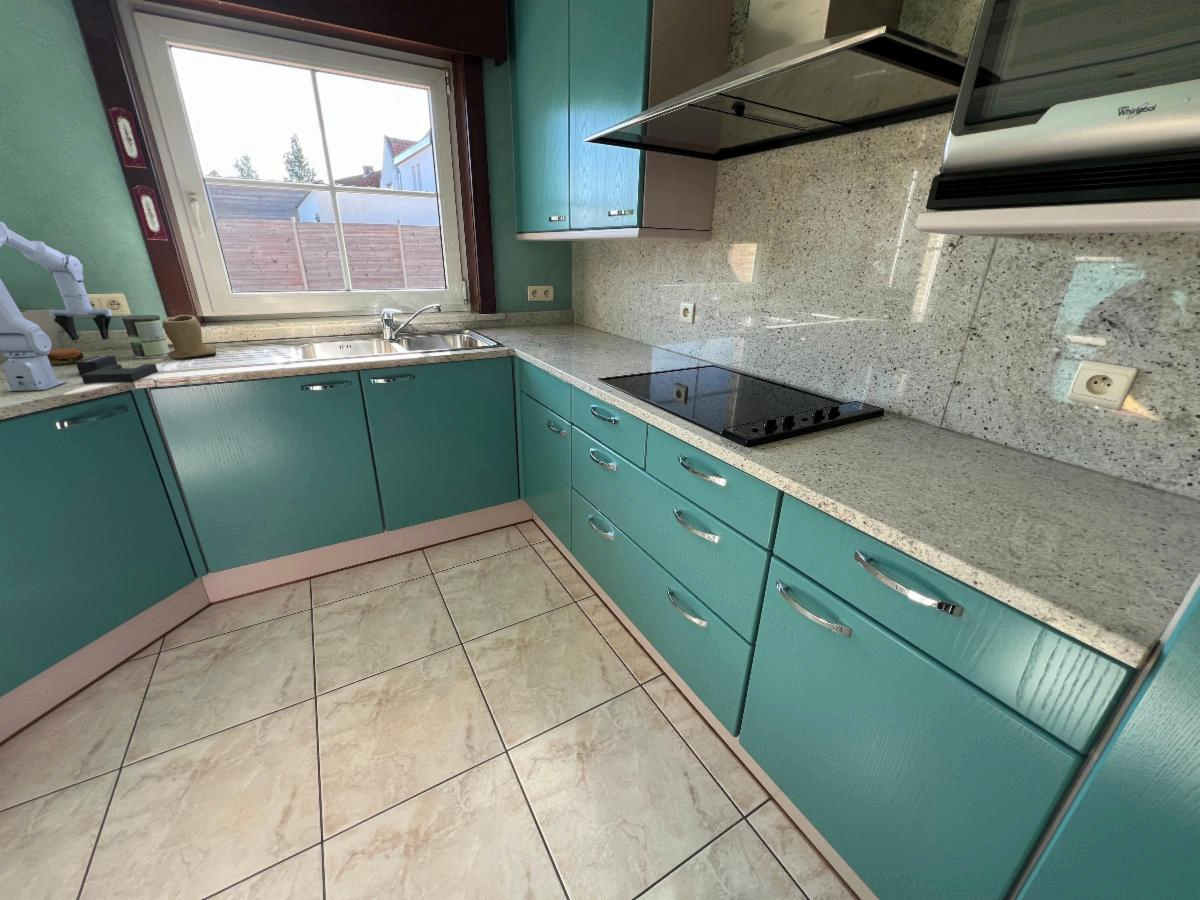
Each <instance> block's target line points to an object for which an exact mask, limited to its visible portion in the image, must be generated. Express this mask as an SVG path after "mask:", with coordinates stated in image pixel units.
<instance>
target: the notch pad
mask: <svg viewBox="0 0 1200 900" xmlns="http://www.w3.org/2000/svg"><path fill="white" fill-rule="evenodd" d="M158 372H159V371H158V368H157V364H156V363H146V364H142V365H139V366H137V367H136V366H135V367H129V368H126V367H125V368H123V366H122V364H118V365H109V366H107V367H104V368H101V369H98V370H95V371H92V372H89V373H86V374H83V375H80V377H81V379H82V382H83V384H104V383H106V384H108V383H133V382H135V381H138V380H141V379H143V378H145V377H148V376H150V375H153V374H155V373H158Z"/></svg>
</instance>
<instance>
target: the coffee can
mask: <svg viewBox="0 0 1200 900" xmlns="http://www.w3.org/2000/svg"><path fill="white" fill-rule="evenodd" d="M121 321H122V323H123V325H124V329H125V332H126V334H127V336H128V341H129V343H130V347H131V348H132V353H133V356H134V358H135V359H142V360H144V359H146V360H147V359H158V358H166V357H169V356H168V355H167V354H168V353H169V352H171V351H170V347H169V344H168V341H167V336H166V333H165V331H164V328H163V324H162V321H161V316H160V315H155V314H154V315H153V314H143V315H141V314H140V315H129V316H123V317H121Z"/></svg>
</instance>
